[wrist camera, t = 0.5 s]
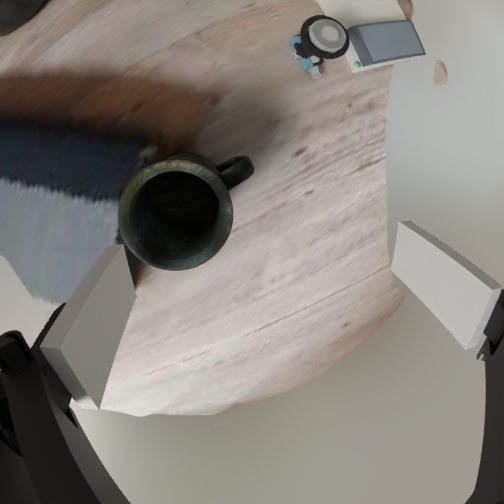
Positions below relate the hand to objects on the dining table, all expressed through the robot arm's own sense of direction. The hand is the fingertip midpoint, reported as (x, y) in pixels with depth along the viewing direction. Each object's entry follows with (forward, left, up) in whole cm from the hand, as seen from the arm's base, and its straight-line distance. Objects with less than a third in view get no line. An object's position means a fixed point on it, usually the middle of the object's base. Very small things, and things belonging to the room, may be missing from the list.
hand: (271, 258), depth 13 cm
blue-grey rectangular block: (-10, +28, -25) cm, 39 cm away
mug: (-1, -5, -26) cm, 27 cm away
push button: (-11, +15, -26) cm, 32 cm away
